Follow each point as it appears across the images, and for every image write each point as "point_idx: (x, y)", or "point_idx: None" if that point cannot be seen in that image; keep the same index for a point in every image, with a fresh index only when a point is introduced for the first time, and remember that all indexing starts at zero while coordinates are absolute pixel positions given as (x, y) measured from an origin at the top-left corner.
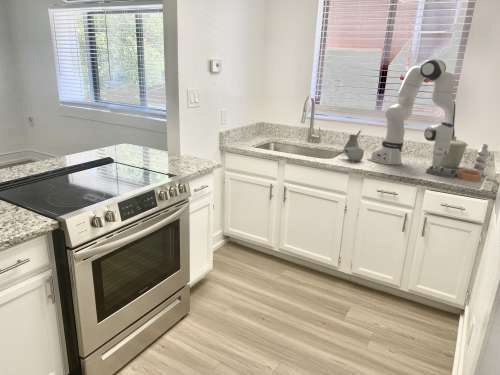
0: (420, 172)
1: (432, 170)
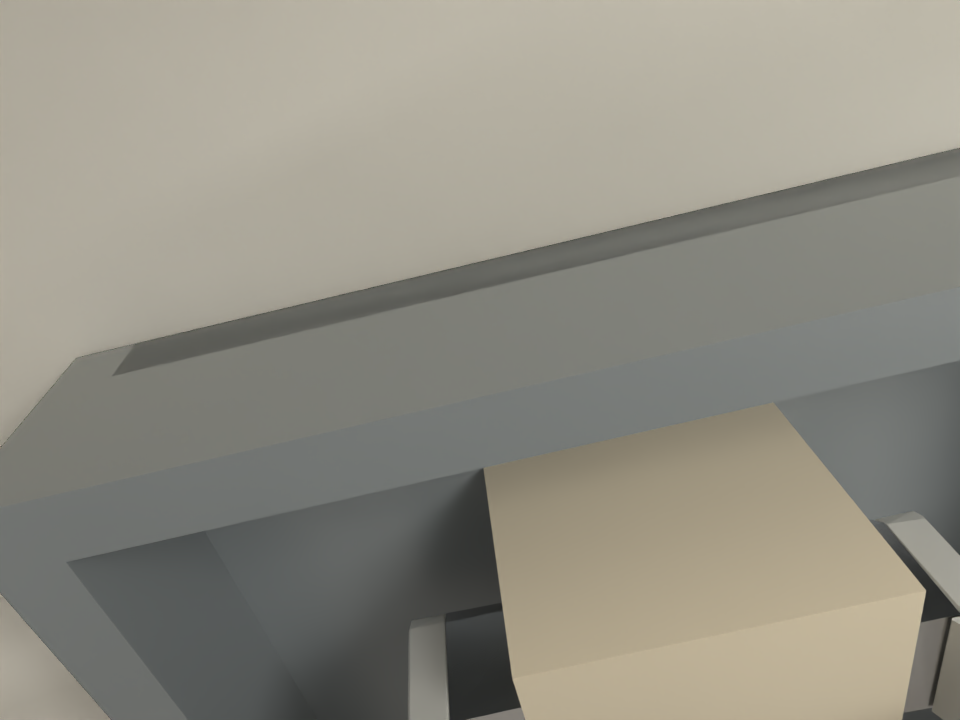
0: (93, 35)
1: (151, 716)
